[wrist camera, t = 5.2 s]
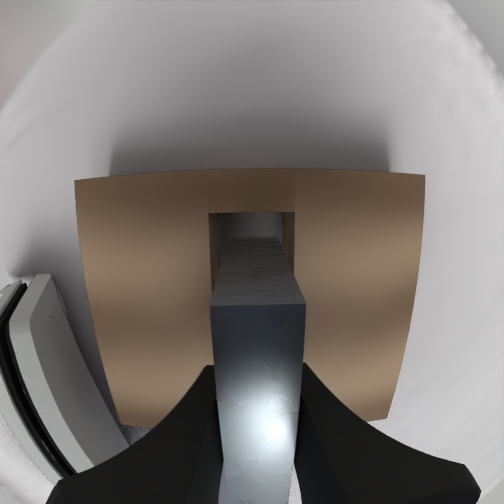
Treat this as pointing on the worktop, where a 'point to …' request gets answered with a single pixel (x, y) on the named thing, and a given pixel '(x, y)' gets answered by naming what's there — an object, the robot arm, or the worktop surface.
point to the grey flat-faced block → (257, 367)
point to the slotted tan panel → (207, 266)
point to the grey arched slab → (50, 385)
